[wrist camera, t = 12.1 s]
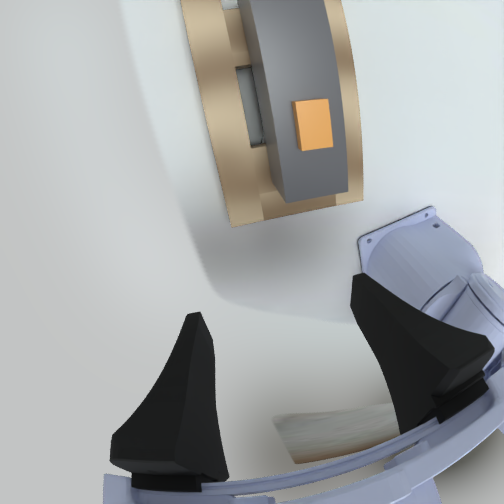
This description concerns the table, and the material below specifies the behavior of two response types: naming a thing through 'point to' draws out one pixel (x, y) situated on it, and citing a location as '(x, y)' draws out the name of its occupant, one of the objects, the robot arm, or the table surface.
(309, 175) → the grey block
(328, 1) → the keyhole board
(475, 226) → the table surface
